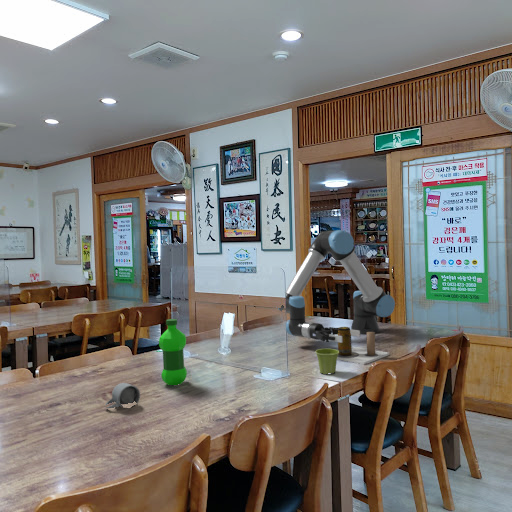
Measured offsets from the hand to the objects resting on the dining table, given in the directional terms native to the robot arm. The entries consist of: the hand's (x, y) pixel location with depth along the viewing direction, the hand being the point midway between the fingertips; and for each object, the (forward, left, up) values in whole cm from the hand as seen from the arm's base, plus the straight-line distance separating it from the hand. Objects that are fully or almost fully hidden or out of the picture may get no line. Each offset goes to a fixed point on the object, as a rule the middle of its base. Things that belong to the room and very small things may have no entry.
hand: (351, 336), depth 209 cm
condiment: (0, -3, -9) cm, 9 cm away
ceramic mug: (+98, -25, -10) cm, 101 cm away
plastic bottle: (+72, -32, -10) cm, 79 cm away
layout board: (-4, +1, -9) cm, 10 cm away
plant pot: (+24, +5, -10) cm, 27 cm away
